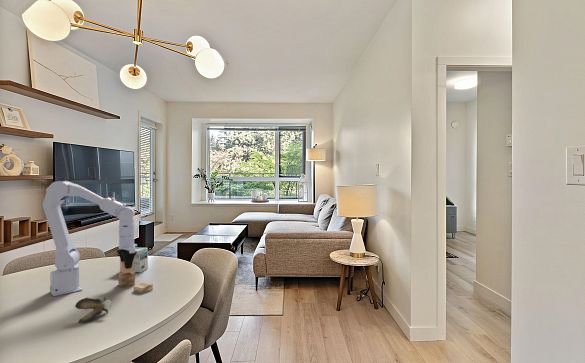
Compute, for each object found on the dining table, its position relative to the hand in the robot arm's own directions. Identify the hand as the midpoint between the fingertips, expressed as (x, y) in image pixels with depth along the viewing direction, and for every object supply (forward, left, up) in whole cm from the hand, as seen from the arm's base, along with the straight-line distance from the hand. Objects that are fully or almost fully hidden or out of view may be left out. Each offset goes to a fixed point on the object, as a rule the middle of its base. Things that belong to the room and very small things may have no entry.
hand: (126, 267), depth 132 cm
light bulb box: (+9, +19, -8) cm, 22 cm away
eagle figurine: (-17, -25, -8) cm, 32 cm away
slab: (+3, -12, -8) cm, 14 cm away
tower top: (0, 0, -5) cm, 5 cm away
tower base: (0, 0, -8) cm, 8 cm away
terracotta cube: (0, 0, -2) cm, 2 cm away
